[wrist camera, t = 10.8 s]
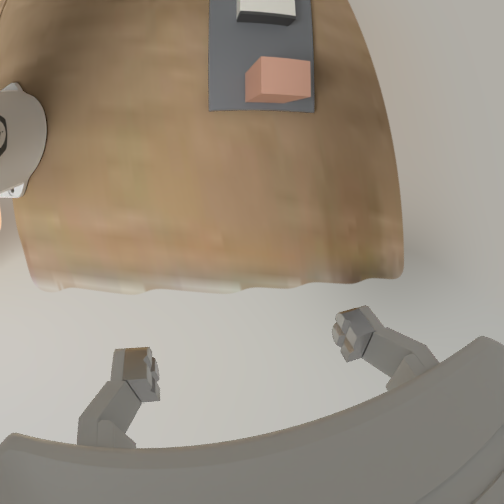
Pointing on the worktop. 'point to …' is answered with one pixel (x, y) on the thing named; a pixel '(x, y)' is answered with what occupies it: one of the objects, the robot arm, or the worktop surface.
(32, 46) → the worktop surface
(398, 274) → the worktop surface
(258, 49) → the stand
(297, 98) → the salmon pink rectangular block
